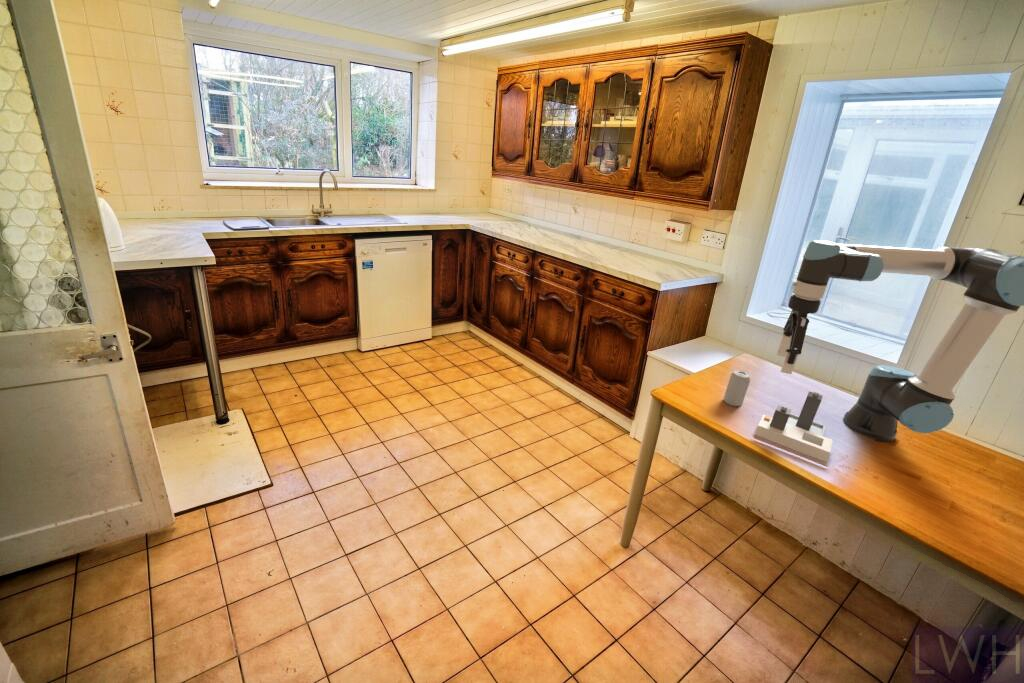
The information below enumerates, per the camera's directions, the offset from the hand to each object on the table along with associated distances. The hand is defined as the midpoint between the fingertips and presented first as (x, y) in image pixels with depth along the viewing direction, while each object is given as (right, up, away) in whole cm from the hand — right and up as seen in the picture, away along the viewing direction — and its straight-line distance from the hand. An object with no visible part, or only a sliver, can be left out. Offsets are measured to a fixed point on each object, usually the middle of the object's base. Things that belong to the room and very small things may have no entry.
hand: (783, 363), depth 143 cm
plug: (+16, -22, +17) cm, 32 cm away
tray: (+16, -22, +17) cm, 32 cm away
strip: (+7, -25, +8) cm, 27 cm away
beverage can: (-2, -16, +29) cm, 33 cm away
